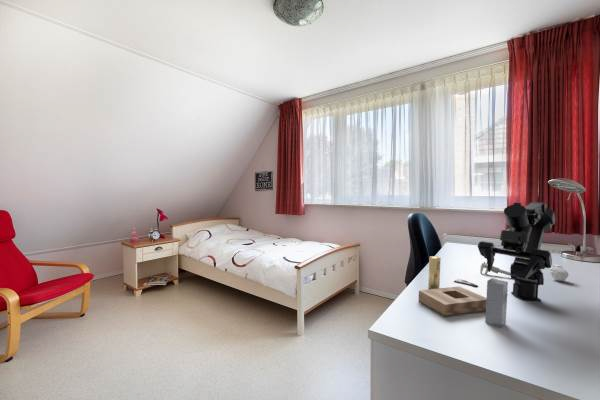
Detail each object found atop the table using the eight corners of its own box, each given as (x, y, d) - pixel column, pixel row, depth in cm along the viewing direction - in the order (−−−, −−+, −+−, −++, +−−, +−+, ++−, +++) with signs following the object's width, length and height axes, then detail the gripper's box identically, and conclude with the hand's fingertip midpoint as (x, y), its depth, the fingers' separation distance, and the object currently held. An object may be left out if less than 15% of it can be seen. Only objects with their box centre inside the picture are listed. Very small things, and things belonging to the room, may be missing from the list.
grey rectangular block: (490, 319, 83) (491, 278, 83) (505, 324, 80) (507, 281, 79) (485, 323, 81) (487, 280, 80) (501, 328, 78) (503, 284, 77)
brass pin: (436, 287, 109) (438, 256, 109) (440, 291, 105) (442, 259, 105) (426, 287, 110) (427, 256, 109) (430, 290, 106) (431, 258, 105)
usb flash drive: (478, 287, 111) (478, 285, 111) (468, 288, 110) (469, 286, 110) (460, 280, 120) (460, 278, 120) (451, 281, 118) (451, 279, 118)
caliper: (480, 274, 129) (480, 261, 129) (480, 273, 130) (480, 260, 130) (536, 283, 118) (536, 269, 117) (535, 282, 119) (536, 268, 118)
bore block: (459, 296, 100) (459, 286, 100) (489, 311, 89) (489, 299, 89) (418, 301, 96) (418, 290, 96) (444, 317, 84) (445, 304, 84)
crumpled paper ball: (558, 278, 124) (559, 263, 123) (572, 283, 117) (573, 267, 117) (544, 277, 124) (545, 262, 124) (557, 283, 117) (558, 267, 117)
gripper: (480, 218, 95) (466, 253, 88) (552, 224, 80) (541, 267, 74) (487, 238, 100) (474, 272, 93) (556, 247, 85) (546, 289, 79)
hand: (505, 274), depth 85 cm, fingers open, 9 cm apart
